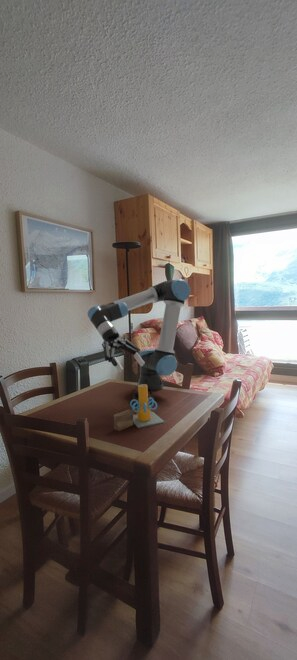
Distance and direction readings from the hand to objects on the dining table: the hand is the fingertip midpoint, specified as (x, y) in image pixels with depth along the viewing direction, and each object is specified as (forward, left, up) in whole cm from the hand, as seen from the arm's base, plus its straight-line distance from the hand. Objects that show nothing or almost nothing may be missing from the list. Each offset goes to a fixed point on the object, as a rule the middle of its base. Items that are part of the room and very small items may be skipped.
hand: (132, 367), depth 133 cm
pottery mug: (-11, -20, -23) cm, 32 cm away
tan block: (+8, +9, -22) cm, 25 cm away
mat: (-3, +6, -22) cm, 23 cm away
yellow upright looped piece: (-2, +7, -22) cm, 23 cm away
